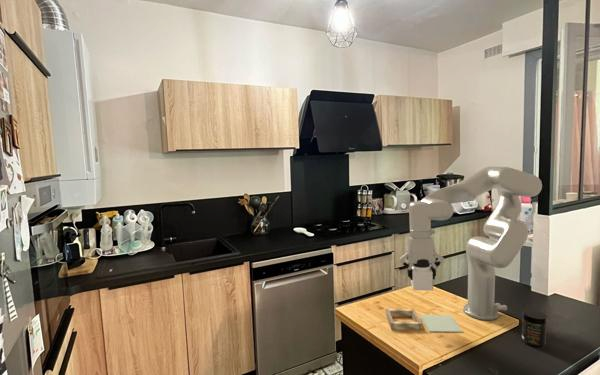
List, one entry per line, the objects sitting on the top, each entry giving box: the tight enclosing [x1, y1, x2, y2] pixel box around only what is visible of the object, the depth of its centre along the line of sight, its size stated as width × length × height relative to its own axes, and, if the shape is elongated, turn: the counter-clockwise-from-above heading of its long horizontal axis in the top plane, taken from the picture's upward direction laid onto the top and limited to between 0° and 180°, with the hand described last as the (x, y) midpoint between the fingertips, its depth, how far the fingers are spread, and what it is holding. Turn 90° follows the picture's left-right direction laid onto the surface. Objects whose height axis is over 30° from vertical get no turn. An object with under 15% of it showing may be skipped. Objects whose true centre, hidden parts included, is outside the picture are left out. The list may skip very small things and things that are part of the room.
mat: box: [419, 314, 464, 333], centre depth 125 cm, size 12×12×1 cm
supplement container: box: [521, 309, 548, 349], centre depth 110 cm, size 7×7×10 cm
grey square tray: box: [385, 308, 423, 331], centre depth 127 cm, size 11×11×2 cm
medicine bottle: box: [410, 259, 434, 291], centre depth 125 cm, size 7×7×12 cm
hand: (421, 278), depth 125 cm, fingers closed on medicine bottle, 7 cm apart
